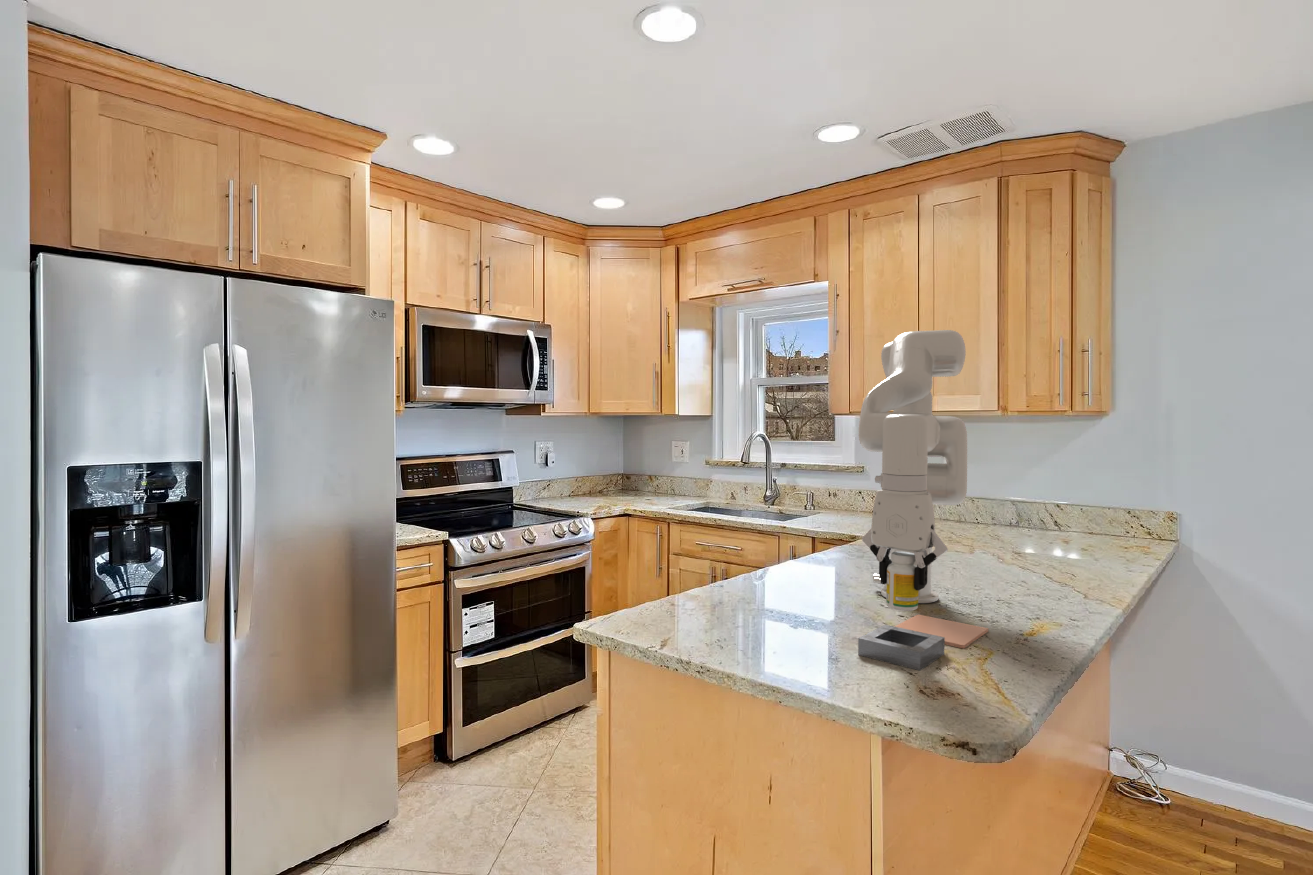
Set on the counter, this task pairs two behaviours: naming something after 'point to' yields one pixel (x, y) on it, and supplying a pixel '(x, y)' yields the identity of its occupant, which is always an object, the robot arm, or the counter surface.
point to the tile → (945, 629)
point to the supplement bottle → (901, 582)
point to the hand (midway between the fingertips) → (902, 584)
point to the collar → (901, 646)
